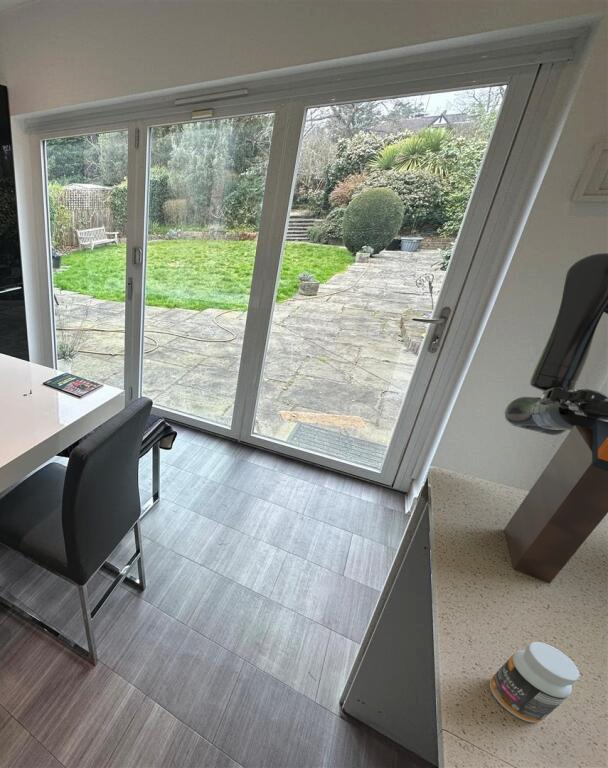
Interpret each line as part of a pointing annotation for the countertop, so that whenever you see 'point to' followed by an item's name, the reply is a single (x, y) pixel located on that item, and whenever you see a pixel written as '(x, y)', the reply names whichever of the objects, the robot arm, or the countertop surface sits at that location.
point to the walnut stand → (559, 509)
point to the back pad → (600, 445)
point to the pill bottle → (534, 681)
